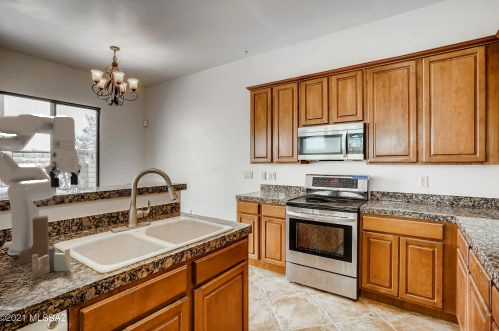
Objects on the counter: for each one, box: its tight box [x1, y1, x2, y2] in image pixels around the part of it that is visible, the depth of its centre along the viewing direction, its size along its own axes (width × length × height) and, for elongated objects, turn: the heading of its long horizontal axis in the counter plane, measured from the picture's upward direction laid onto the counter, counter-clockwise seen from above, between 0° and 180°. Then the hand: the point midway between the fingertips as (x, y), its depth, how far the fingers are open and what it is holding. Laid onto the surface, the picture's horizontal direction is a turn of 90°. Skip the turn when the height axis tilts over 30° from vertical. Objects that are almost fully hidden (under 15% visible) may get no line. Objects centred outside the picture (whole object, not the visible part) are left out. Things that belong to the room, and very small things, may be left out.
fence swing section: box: [54, 248, 71, 273], centre depth 95 cm, size 6×2×8 cm, turn 85°
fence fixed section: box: [31, 246, 56, 280], centre depth 93 cm, size 8×2×9 cm, turn 173°
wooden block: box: [18, 215, 50, 265], centre depth 105 cm, size 9×4×18 cm, turn 122°
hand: (65, 186), depth 110 cm, fingers open, 9 cm apart
